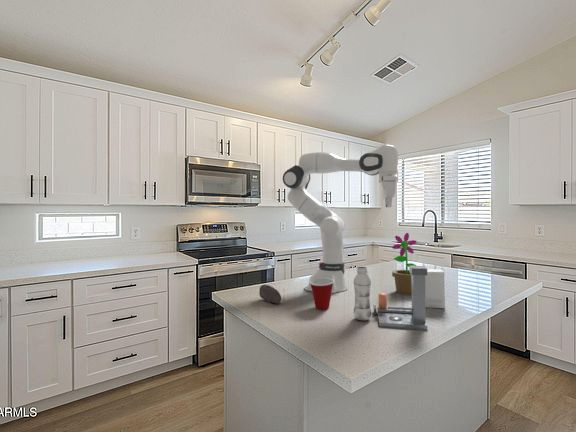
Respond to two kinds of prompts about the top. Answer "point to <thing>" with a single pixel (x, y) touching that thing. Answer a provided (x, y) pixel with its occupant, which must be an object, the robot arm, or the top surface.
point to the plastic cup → (321, 292)
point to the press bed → (418, 305)
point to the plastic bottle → (362, 295)
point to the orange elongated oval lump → (382, 301)
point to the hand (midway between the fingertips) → (388, 207)
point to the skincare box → (434, 289)
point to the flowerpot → (404, 275)
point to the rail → (393, 310)
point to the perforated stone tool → (270, 294)
